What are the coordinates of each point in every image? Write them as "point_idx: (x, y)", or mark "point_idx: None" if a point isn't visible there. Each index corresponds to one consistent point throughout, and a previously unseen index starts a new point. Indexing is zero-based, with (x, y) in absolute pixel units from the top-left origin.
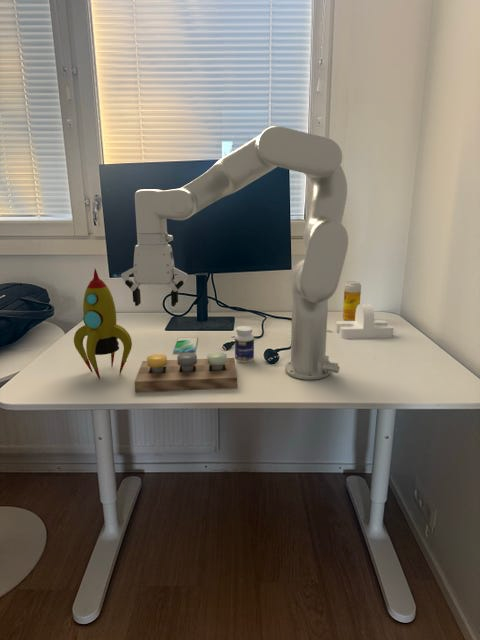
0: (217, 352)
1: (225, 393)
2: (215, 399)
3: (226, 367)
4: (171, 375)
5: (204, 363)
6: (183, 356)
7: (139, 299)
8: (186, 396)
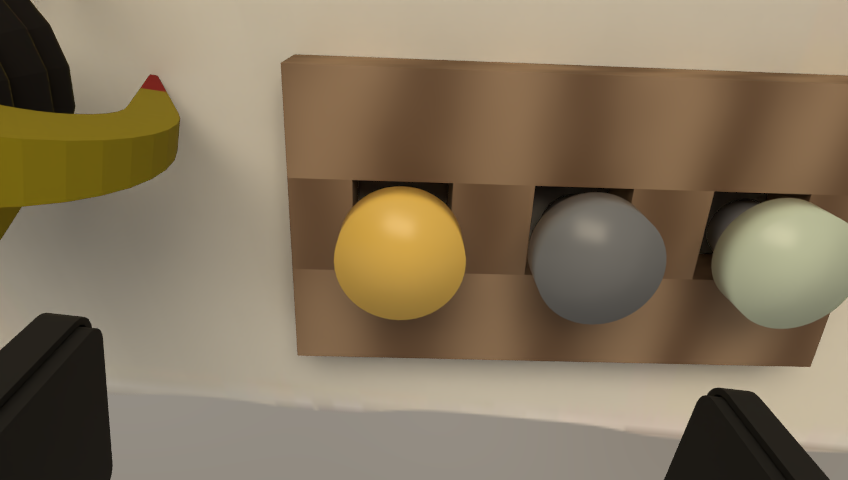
0: (818, 224)
1: (708, 371)
2: (654, 413)
3: None
4: (483, 309)
5: (691, 164)
6: (577, 267)
7: (62, 447)
8: (538, 379)
